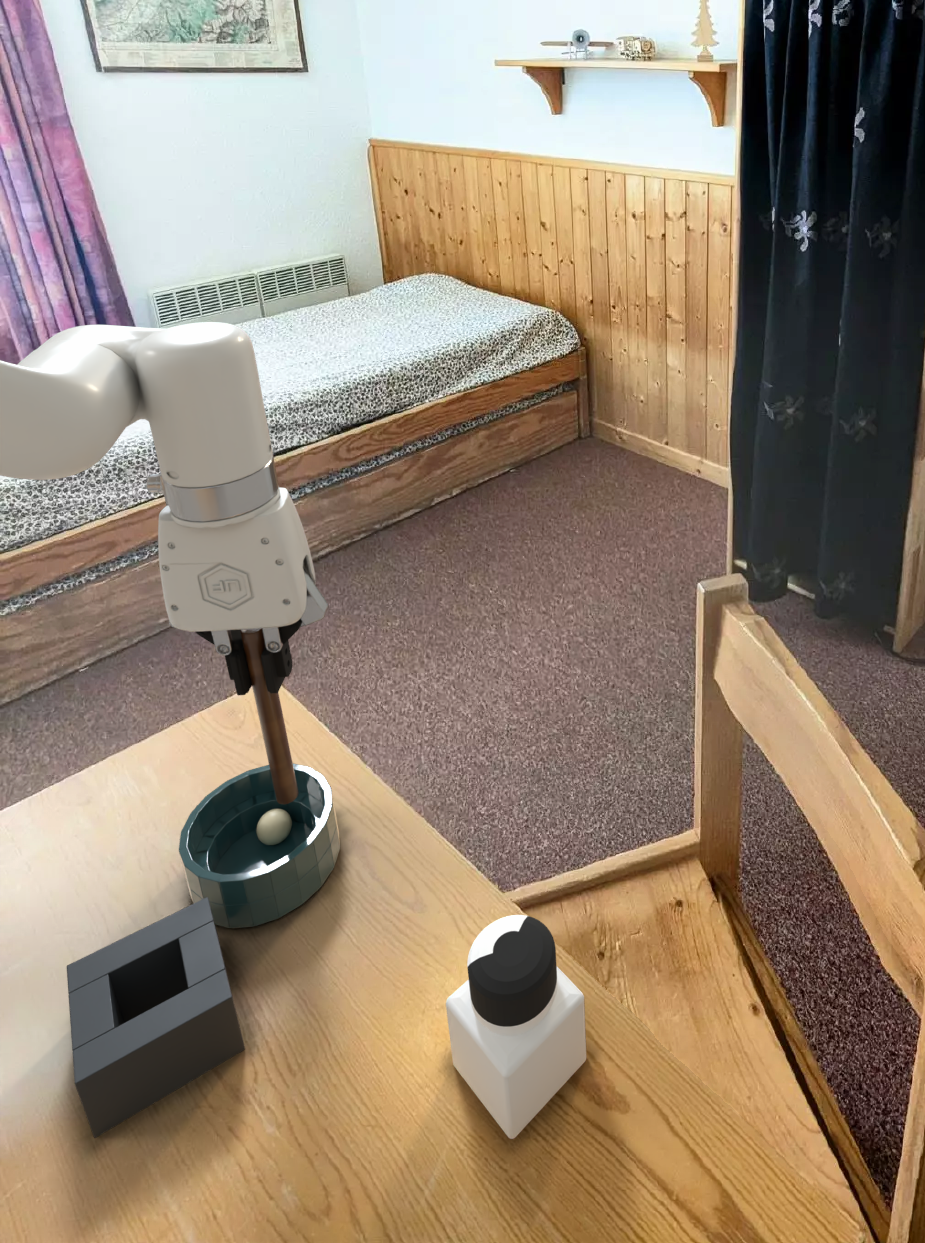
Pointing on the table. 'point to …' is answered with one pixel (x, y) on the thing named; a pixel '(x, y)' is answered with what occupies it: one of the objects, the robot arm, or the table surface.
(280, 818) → the beige egg
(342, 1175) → the table surface
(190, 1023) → the holder
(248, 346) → the robot arm
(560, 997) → the medicine bottle
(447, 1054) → the table surface
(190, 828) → the bowl
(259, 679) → the spurtle
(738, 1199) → the table surface
